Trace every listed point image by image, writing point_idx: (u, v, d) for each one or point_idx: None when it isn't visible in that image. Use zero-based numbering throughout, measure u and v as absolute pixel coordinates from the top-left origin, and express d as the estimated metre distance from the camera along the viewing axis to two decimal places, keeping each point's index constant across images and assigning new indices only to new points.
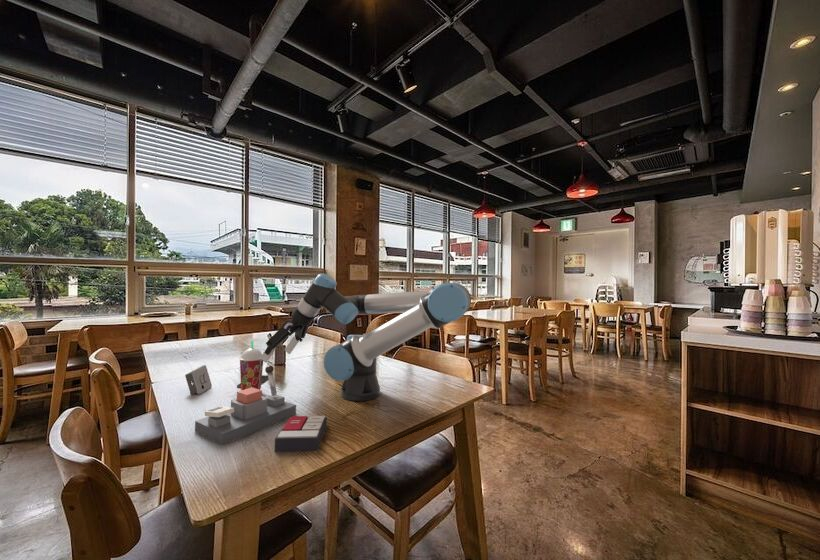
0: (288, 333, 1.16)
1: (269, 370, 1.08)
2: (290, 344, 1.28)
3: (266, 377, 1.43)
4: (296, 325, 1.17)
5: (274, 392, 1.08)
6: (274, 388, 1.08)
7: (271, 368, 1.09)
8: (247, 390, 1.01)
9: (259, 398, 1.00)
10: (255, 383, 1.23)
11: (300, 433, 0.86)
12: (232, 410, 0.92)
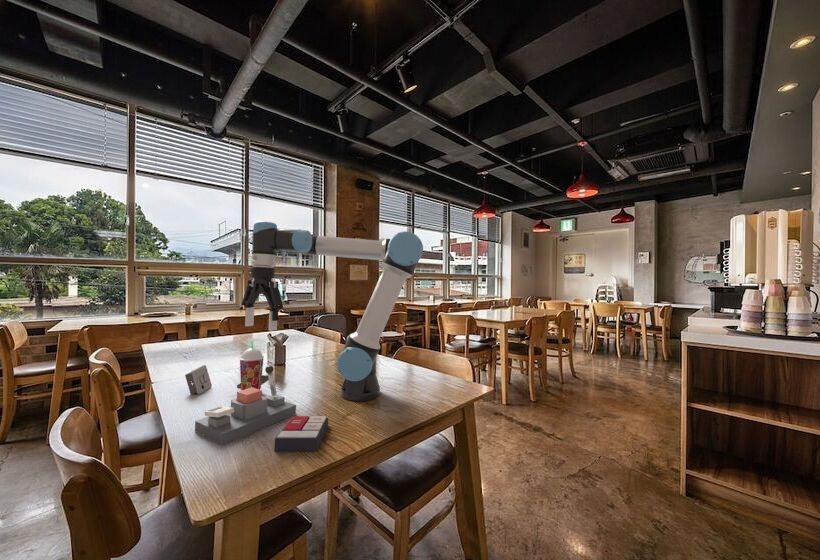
0: None
1: (269, 370, 1.08)
2: (249, 316, 1.16)
3: (266, 377, 1.43)
4: None
5: (274, 392, 1.08)
6: (274, 388, 1.08)
7: (271, 368, 1.09)
8: (247, 390, 1.01)
9: (259, 398, 1.00)
10: (255, 383, 1.23)
11: (300, 433, 0.86)
12: (232, 410, 0.92)
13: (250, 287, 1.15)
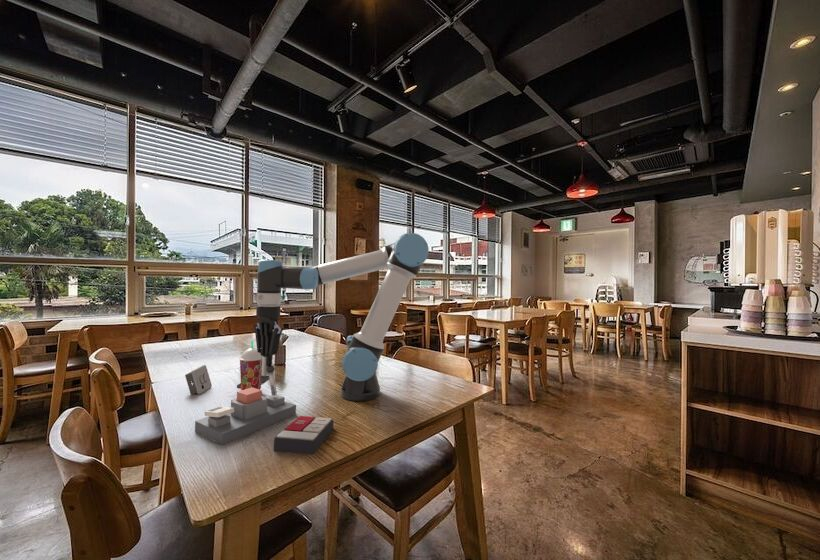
0: None
1: (270, 370, 1.08)
2: None
3: (266, 377, 1.43)
4: None
5: (274, 392, 1.07)
6: (274, 388, 1.08)
7: (272, 368, 1.09)
8: (247, 390, 1.01)
9: (259, 398, 1.00)
10: (255, 383, 1.23)
11: (299, 434, 0.86)
12: (232, 410, 0.92)
13: (258, 330, 1.12)
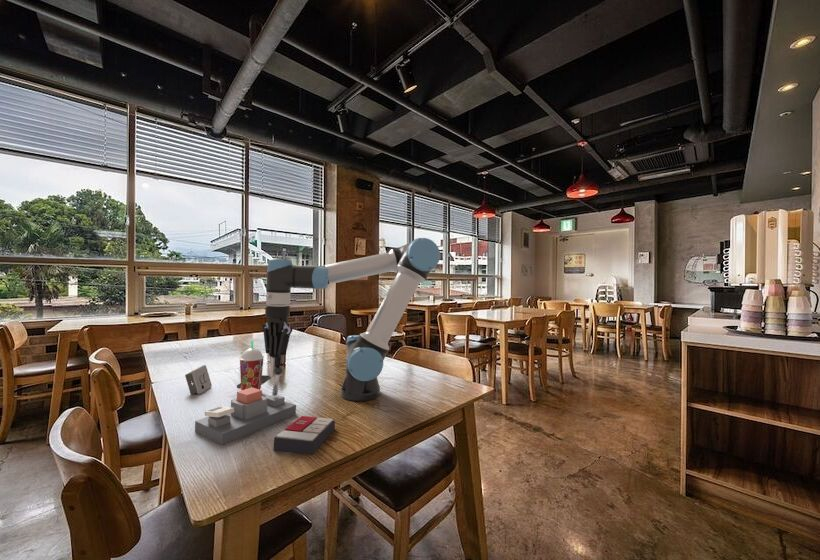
0: None
1: (278, 373, 1.06)
2: None
3: (266, 377, 1.43)
4: None
5: (275, 393, 1.07)
6: (276, 390, 1.07)
7: (280, 371, 1.06)
8: (247, 390, 1.01)
9: (259, 398, 1.00)
10: (255, 383, 1.23)
11: (299, 435, 0.86)
12: (232, 410, 0.92)
13: (266, 330, 1.09)
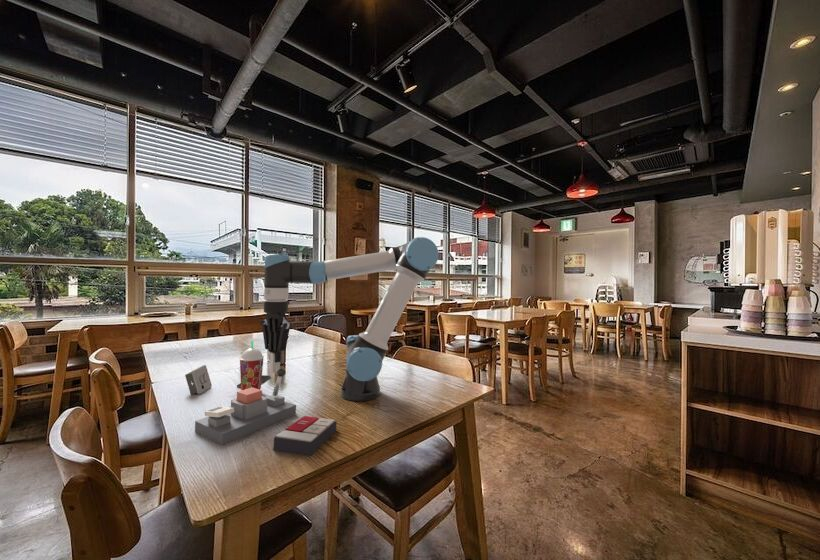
0: None
1: (281, 375, 1.05)
2: None
3: (266, 377, 1.43)
4: None
5: (275, 394, 1.07)
6: (277, 391, 1.07)
7: (283, 374, 1.06)
8: (247, 390, 1.01)
9: (259, 398, 1.00)
10: (255, 383, 1.23)
11: (298, 435, 0.85)
12: (232, 410, 0.92)
13: (265, 326, 1.10)
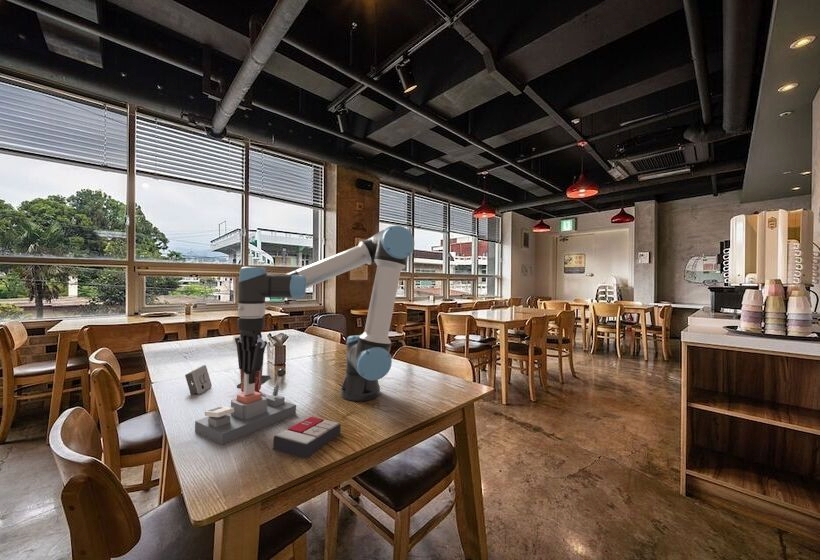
0: None
1: (281, 375, 1.05)
2: None
3: (266, 377, 1.43)
4: None
5: (275, 394, 1.07)
6: (277, 391, 1.07)
7: (283, 374, 1.06)
8: None
9: None
10: (255, 383, 1.23)
11: (297, 436, 0.85)
12: (232, 410, 0.92)
13: (240, 344, 1.02)
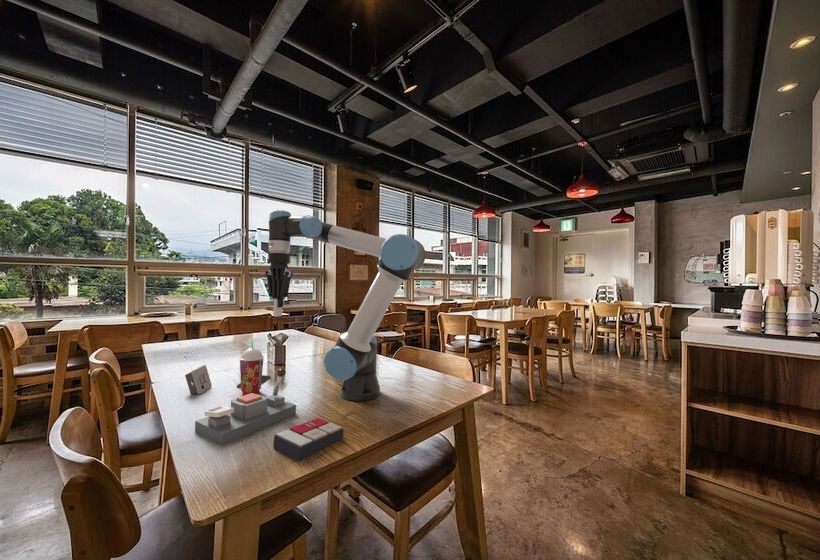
0: None
1: (281, 375, 1.05)
2: None
3: (266, 377, 1.43)
4: None
5: (275, 394, 1.07)
6: (277, 391, 1.07)
7: (283, 374, 1.06)
8: (247, 396, 1.01)
9: None
10: (255, 383, 1.23)
11: (294, 437, 0.84)
12: (232, 410, 0.92)
13: (269, 276, 1.23)
